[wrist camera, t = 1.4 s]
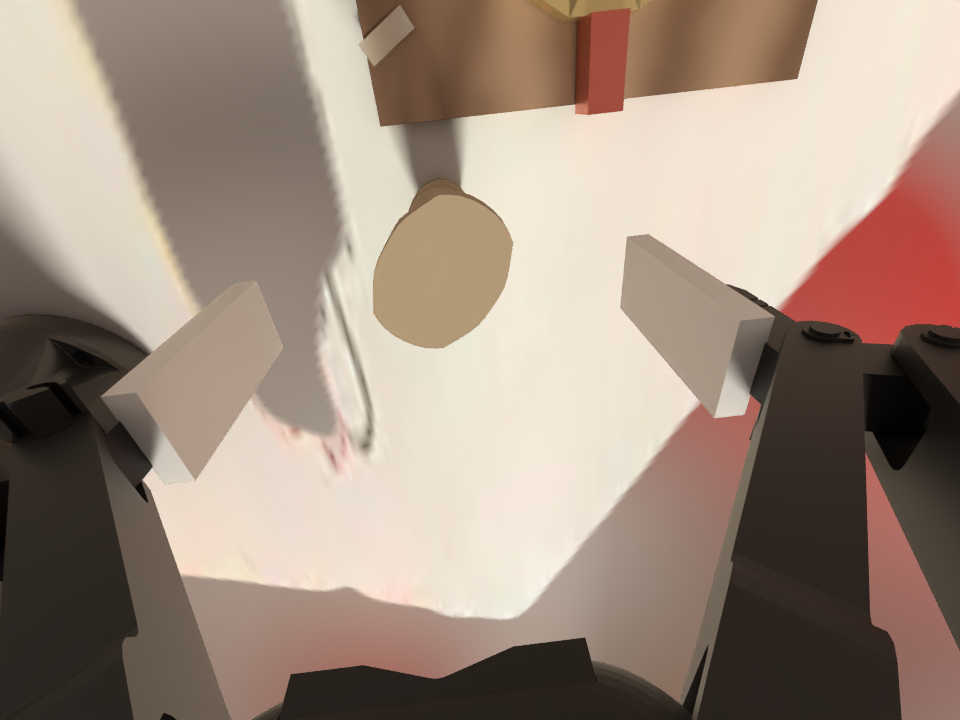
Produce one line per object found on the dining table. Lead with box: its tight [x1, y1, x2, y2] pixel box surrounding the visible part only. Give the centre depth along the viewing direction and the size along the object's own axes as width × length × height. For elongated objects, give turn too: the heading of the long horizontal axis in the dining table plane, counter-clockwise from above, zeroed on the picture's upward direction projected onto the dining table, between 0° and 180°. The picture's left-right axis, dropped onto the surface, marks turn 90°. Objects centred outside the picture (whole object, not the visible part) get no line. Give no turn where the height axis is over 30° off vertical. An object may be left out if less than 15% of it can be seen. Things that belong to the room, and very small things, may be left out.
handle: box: [373, 178, 513, 348], centre depth 23 cm, size 5×6×15 cm
